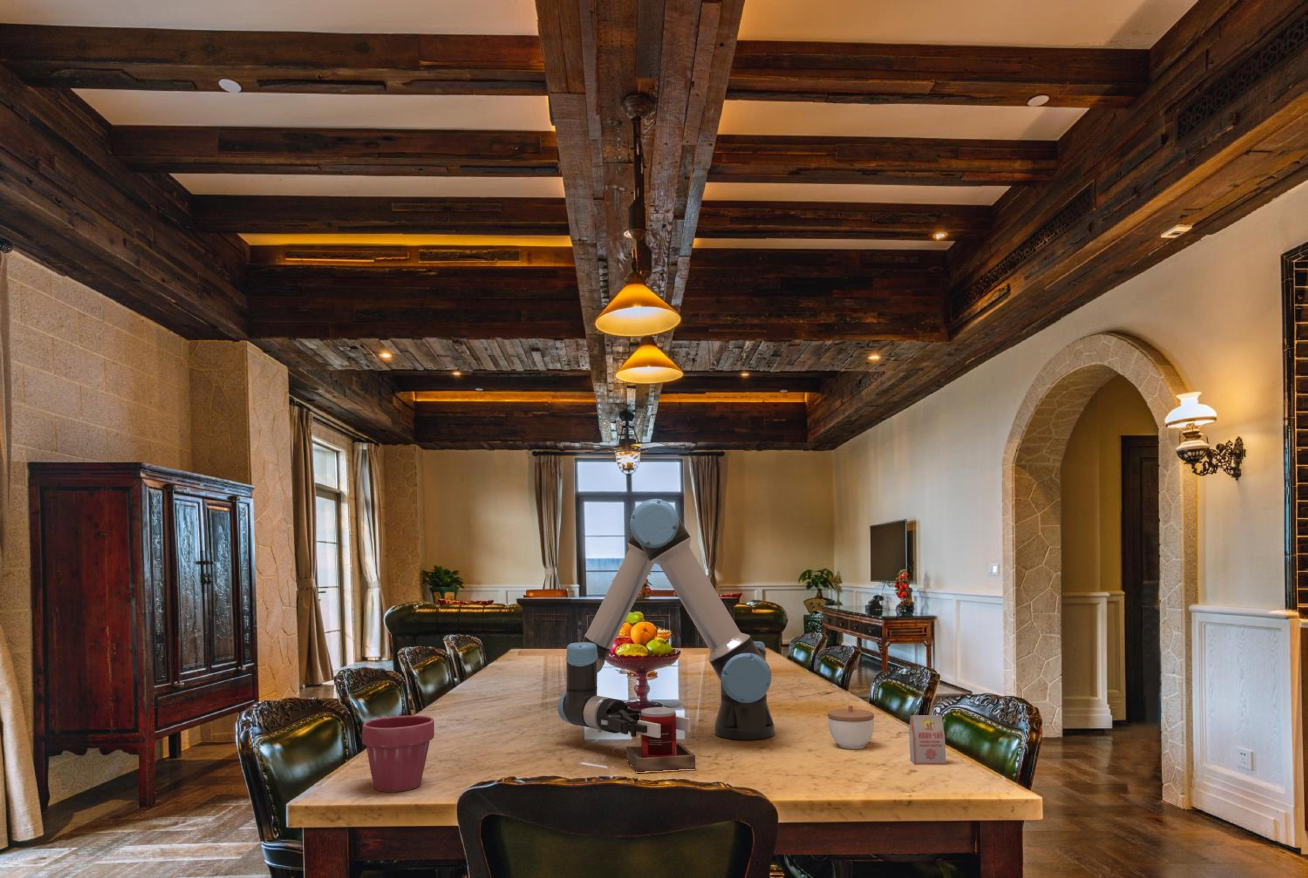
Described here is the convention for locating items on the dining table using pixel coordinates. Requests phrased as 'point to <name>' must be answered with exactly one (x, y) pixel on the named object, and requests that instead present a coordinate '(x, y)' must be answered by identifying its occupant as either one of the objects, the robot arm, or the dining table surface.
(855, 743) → the lidded jar
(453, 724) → the dining table surface
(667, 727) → the canned food
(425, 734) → the plant pot
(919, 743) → the white tea box
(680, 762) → the walnut tray
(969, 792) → the dining table surface
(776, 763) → the dining table surface
